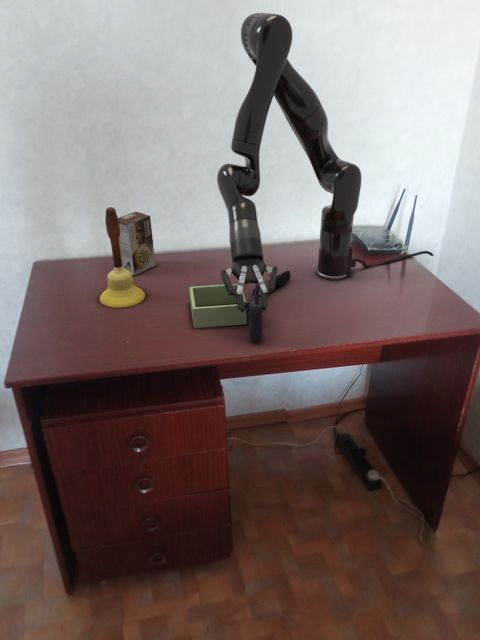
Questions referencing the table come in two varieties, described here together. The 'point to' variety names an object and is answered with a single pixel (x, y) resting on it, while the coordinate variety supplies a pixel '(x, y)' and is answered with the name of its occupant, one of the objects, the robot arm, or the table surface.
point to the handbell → (118, 271)
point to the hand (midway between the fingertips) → (253, 310)
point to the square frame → (215, 307)
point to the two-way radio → (254, 317)
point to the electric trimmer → (277, 280)
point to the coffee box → (136, 242)
